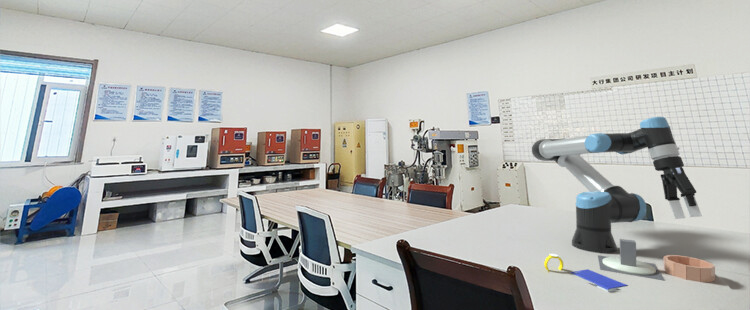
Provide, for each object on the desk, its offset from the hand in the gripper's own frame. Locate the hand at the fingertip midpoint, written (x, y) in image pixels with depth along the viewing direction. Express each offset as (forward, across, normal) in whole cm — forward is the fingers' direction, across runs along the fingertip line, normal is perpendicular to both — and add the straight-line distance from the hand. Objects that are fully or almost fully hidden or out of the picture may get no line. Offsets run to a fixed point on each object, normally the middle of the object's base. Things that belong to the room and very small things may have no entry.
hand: (687, 217), depth 101 cm
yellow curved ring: (+15, -19, +43) cm, 49 cm away
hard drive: (+18, -20, +32) cm, 42 cm away
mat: (+16, -5, +21) cm, 26 cm away
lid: (+15, -5, +21) cm, 26 cm away
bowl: (+18, -4, +6) cm, 20 cm away
